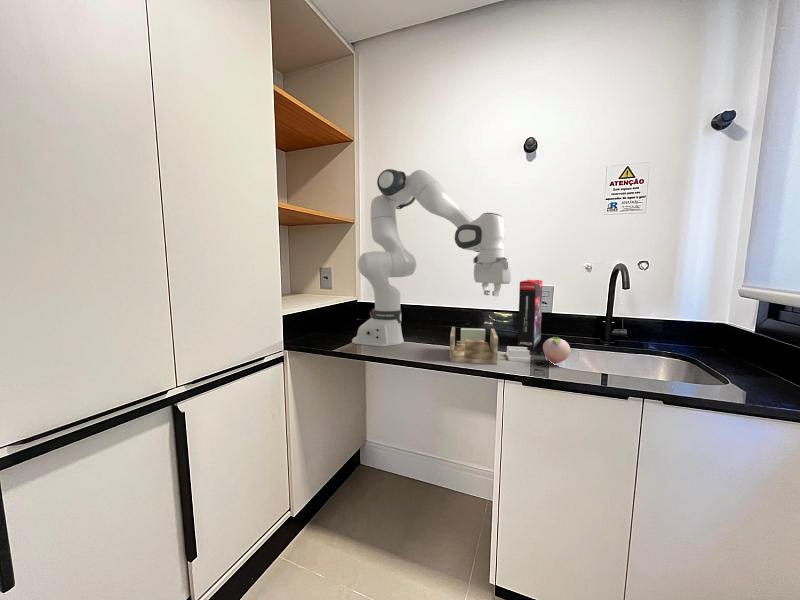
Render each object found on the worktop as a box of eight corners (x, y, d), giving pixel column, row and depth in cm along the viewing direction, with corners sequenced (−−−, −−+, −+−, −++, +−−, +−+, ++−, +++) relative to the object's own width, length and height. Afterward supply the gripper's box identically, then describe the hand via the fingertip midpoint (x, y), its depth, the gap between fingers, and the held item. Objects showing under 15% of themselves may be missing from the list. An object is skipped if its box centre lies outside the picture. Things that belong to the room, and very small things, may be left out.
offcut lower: (464, 358, 115) (464, 349, 115) (464, 355, 118) (464, 347, 118) (481, 359, 114) (482, 350, 114) (481, 356, 117) (481, 348, 117)
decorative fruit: (573, 368, 108) (575, 339, 107) (546, 367, 109) (548, 337, 108) (564, 360, 117) (566, 333, 116) (539, 359, 119) (541, 332, 118)
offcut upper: (466, 350, 114) (466, 341, 114) (465, 347, 118) (465, 339, 117) (483, 350, 114) (484, 342, 113) (482, 348, 117) (482, 339, 117)
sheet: (460, 349, 126) (461, 329, 125) (460, 348, 128) (460, 328, 127) (484, 350, 125) (485, 330, 124) (484, 349, 127) (484, 328, 126)
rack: (449, 361, 115) (450, 335, 114) (451, 349, 131) (452, 326, 130) (497, 364, 112) (498, 337, 111) (493, 351, 128) (494, 328, 127)
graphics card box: (533, 349, 131) (537, 281, 128) (515, 347, 135) (519, 281, 132) (540, 341, 146) (544, 279, 143) (524, 339, 150) (527, 279, 146)
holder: (508, 360, 116) (509, 350, 116) (506, 354, 124) (506, 345, 124) (529, 362, 115) (530, 352, 115) (525, 355, 123) (526, 346, 122)
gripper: (516, 256, 111) (515, 297, 112) (485, 259, 131) (485, 293, 132) (499, 256, 110) (498, 298, 111) (471, 259, 129) (470, 294, 131)
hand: (491, 295), depth 122 cm, fingers open, 5 cm apart
